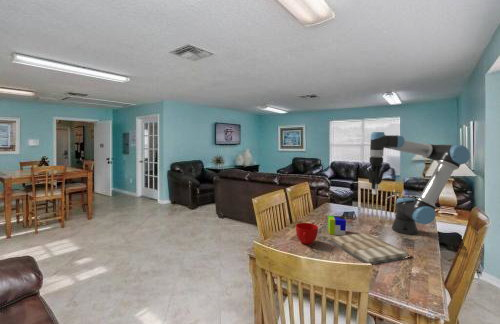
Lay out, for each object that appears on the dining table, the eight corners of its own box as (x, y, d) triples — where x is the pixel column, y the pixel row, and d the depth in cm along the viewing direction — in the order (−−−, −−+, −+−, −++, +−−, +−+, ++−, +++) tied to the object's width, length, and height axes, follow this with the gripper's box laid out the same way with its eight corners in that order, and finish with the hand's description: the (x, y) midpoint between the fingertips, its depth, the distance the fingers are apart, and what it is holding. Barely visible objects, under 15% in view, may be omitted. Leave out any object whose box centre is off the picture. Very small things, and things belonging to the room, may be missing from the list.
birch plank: (391, 248, 145) (392, 245, 145) (407, 256, 136) (407, 252, 136) (354, 254, 137) (354, 250, 137) (368, 262, 127) (368, 258, 127)
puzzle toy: (345, 235, 166) (346, 220, 165) (329, 234, 168) (329, 219, 167) (342, 230, 176) (343, 216, 175) (327, 229, 178) (328, 215, 177)
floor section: (366, 235, 166) (366, 232, 166) (412, 257, 135) (413, 253, 135) (327, 240, 157) (327, 236, 157) (367, 265, 126) (367, 260, 125)
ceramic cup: (292, 247, 146) (292, 230, 146) (297, 237, 162) (298, 221, 162) (315, 250, 142) (315, 233, 141) (318, 240, 158) (319, 224, 157)
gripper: (372, 157, 153) (370, 195, 155) (389, 157, 157) (387, 194, 159) (363, 156, 160) (361, 193, 162) (379, 156, 164) (377, 192, 166)
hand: (374, 194), depth 161 cm, fingers closed
